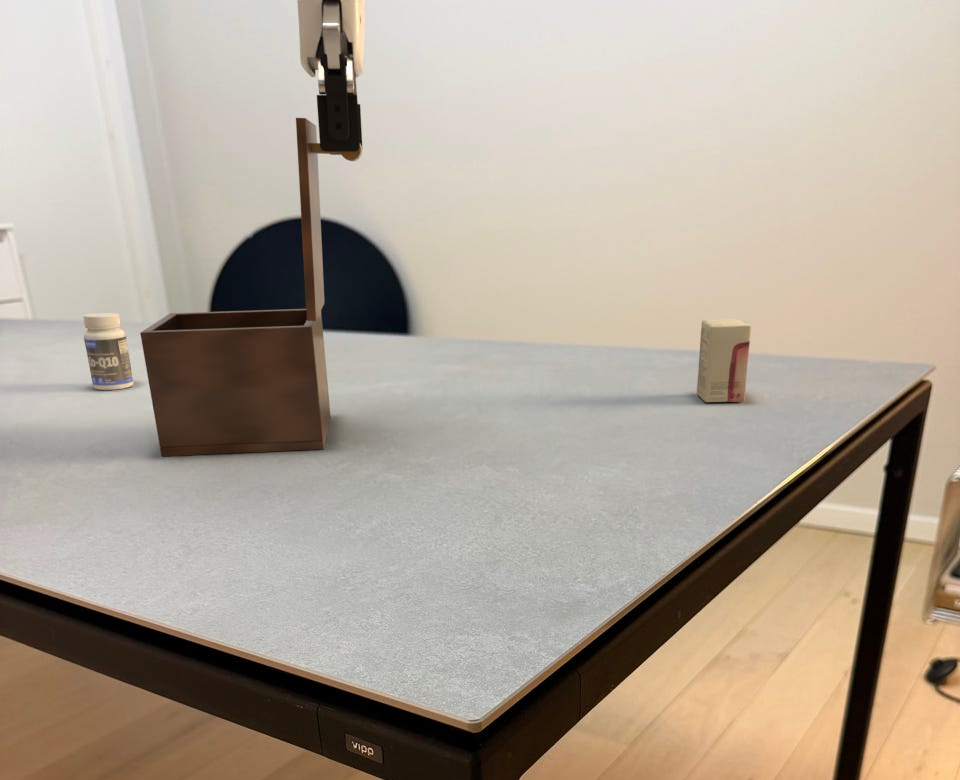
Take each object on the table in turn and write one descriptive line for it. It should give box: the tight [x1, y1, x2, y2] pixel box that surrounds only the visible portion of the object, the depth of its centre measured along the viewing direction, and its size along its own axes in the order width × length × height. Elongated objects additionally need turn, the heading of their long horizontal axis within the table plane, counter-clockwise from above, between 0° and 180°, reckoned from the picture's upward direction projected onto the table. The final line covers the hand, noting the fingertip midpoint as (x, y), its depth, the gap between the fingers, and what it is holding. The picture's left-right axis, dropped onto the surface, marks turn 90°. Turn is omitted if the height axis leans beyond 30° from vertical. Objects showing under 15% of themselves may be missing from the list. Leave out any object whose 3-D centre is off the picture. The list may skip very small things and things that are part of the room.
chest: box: [139, 308, 332, 457], centre depth 90 cm, size 15×13×11 cm
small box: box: [696, 318, 752, 403], centre depth 101 cm, size 5×4×8 cm
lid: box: [295, 117, 363, 321], centre depth 84 cm, size 15×13×5 cm
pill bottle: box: [82, 312, 135, 391], centre depth 114 cm, size 5×5×8 cm
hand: (342, 153), depth 82 cm, fingers open, 9 cm apart
